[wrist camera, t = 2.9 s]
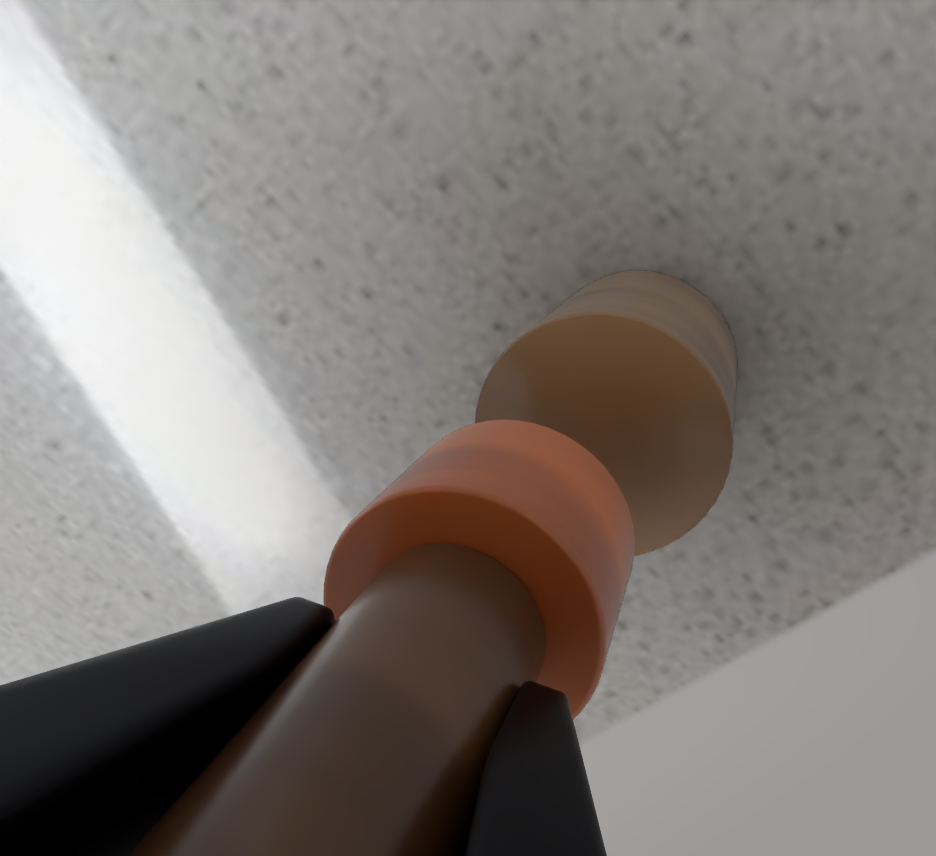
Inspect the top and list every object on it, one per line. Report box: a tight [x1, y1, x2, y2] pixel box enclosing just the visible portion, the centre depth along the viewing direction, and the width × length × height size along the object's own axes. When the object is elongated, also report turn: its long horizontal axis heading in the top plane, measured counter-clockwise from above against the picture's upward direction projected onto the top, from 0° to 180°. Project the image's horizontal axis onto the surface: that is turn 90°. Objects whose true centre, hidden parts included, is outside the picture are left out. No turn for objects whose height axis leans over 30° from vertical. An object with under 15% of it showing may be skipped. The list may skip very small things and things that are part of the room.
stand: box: [475, 271, 737, 556], centre depth 17 cm, size 4×4×6 cm
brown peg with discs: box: [128, 420, 635, 856], centre depth 8 cm, size 3×3×8 cm
